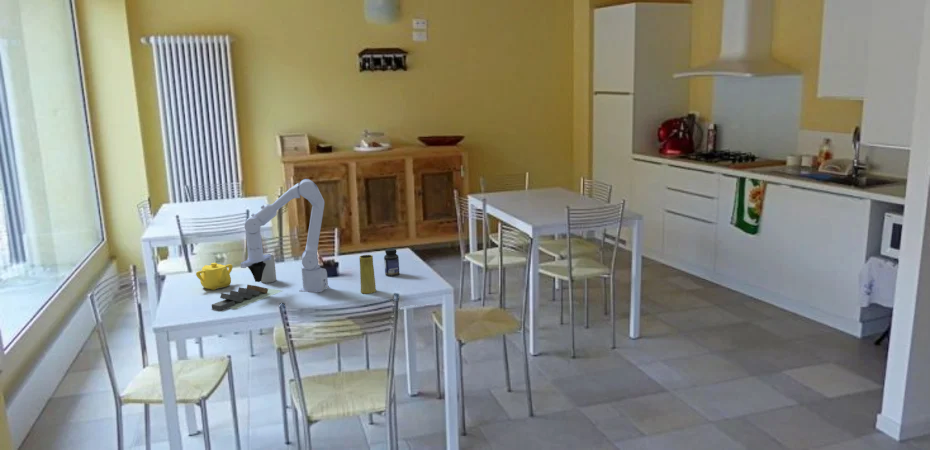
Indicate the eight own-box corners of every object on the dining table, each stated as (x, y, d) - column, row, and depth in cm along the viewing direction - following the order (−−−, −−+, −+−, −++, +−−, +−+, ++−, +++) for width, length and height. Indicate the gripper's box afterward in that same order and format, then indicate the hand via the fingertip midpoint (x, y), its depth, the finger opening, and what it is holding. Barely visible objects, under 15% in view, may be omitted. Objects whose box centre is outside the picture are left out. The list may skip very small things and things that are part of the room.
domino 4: (251, 290, 279) (238, 287, 273) (260, 291, 277) (247, 288, 271) (250, 294, 279) (237, 291, 273) (258, 296, 277) (246, 293, 271)
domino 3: (243, 293, 276) (230, 290, 270) (252, 294, 274) (238, 291, 268) (242, 297, 276) (229, 295, 270) (251, 299, 273) (237, 296, 267)
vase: (363, 294, 275) (361, 259, 272) (358, 291, 280) (356, 255, 277) (378, 292, 278) (376, 256, 275) (373, 288, 283) (370, 253, 280)
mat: (261, 288, 289) (261, 287, 289) (283, 291, 283) (283, 290, 283) (213, 305, 268) (213, 305, 268) (236, 309, 262) (235, 308, 262)
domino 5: (260, 287, 283) (247, 284, 277) (268, 288, 281) (255, 285, 275) (259, 291, 283) (246, 289, 277) (267, 293, 281) (254, 290, 275)
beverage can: (272, 284, 294) (269, 256, 292) (258, 284, 296) (255, 256, 293) (279, 280, 301) (276, 252, 298) (265, 279, 302) (262, 252, 300)
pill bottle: (402, 273, 303) (401, 248, 301) (393, 277, 298) (392, 251, 296) (391, 272, 307) (389, 247, 304) (382, 275, 301) (380, 250, 299)
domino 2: (234, 296, 272) (221, 293, 266) (243, 297, 270) (229, 294, 264) (233, 301, 272) (220, 297, 266) (241, 302, 270) (228, 299, 264)
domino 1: (226, 299, 268) (211, 304, 262) (234, 300, 266) (219, 306, 260) (226, 303, 269) (211, 309, 263) (234, 305, 266) (220, 310, 261)
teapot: (239, 282, 300) (236, 258, 298) (228, 291, 287) (226, 266, 285) (207, 283, 300) (204, 259, 298) (195, 292, 287) (192, 267, 285)
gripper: (260, 243, 285) (264, 275, 287) (233, 251, 272) (236, 285, 275) (274, 244, 281) (277, 277, 284) (246, 252, 269) (250, 287, 272)
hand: (258, 281), depth 279 cm, fingers closed
